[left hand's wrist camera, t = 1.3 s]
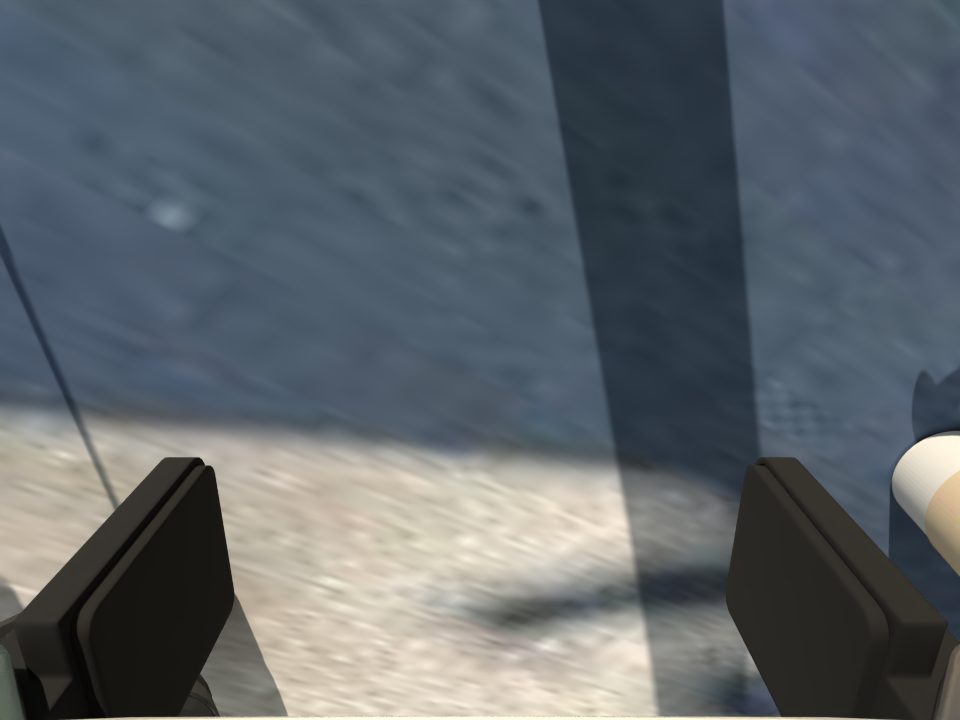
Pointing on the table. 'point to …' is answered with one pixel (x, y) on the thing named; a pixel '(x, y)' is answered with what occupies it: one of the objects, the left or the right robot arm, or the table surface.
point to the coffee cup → (933, 491)
